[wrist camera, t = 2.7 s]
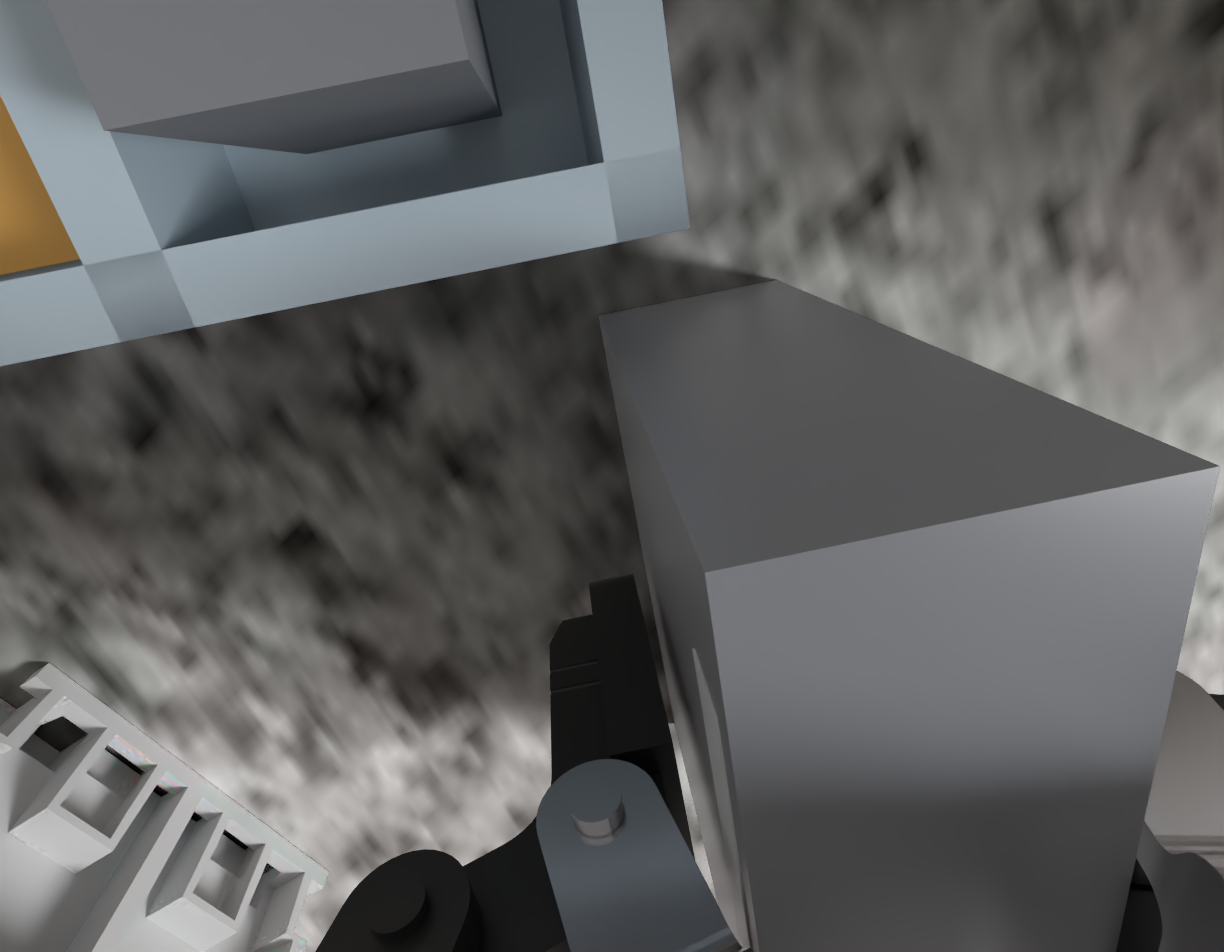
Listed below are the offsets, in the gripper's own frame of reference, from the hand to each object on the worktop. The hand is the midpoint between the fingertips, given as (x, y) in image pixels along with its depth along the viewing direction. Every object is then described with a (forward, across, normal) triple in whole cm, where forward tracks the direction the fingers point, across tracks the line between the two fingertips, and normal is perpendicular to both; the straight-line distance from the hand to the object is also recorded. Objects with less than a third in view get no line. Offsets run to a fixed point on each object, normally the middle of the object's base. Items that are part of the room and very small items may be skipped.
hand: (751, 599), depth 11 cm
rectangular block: (+2, 0, 0) cm, 2 cm away
